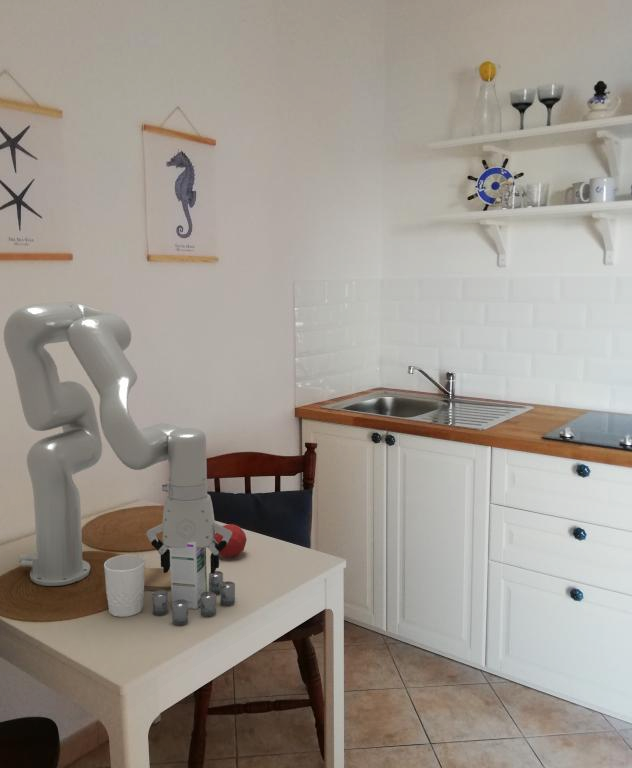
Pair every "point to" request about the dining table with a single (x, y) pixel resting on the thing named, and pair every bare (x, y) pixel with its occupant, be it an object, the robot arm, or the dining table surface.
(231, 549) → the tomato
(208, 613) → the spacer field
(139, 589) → the white cup
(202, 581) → the syrup box
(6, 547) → the dining table surface
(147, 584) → the tan board
